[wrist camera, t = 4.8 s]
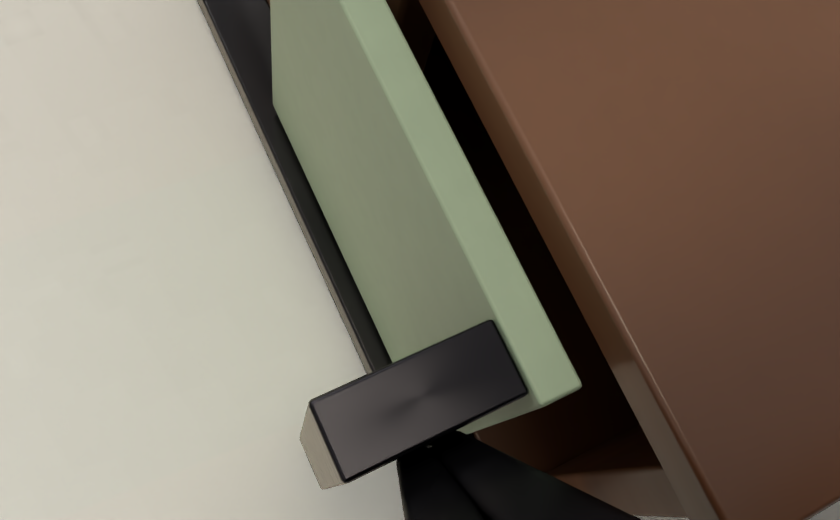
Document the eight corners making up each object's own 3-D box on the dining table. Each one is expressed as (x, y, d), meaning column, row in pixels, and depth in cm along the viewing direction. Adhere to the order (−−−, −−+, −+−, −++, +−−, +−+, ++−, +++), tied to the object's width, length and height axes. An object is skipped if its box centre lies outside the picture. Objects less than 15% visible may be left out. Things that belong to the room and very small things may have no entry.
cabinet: (859, 341, 19) (1307, 218, 11) (451, 562, 16) (634, 628, 8) (558, -165, 23) (725, -568, 14) (169, -60, 19) (82, -492, 11)
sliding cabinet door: (457, 434, 16) (585, 386, 9) (321, 501, 15) (352, 503, 8) (297, 94, 18) (305, -160, 11) (166, 138, 17) (86, -106, 10)
